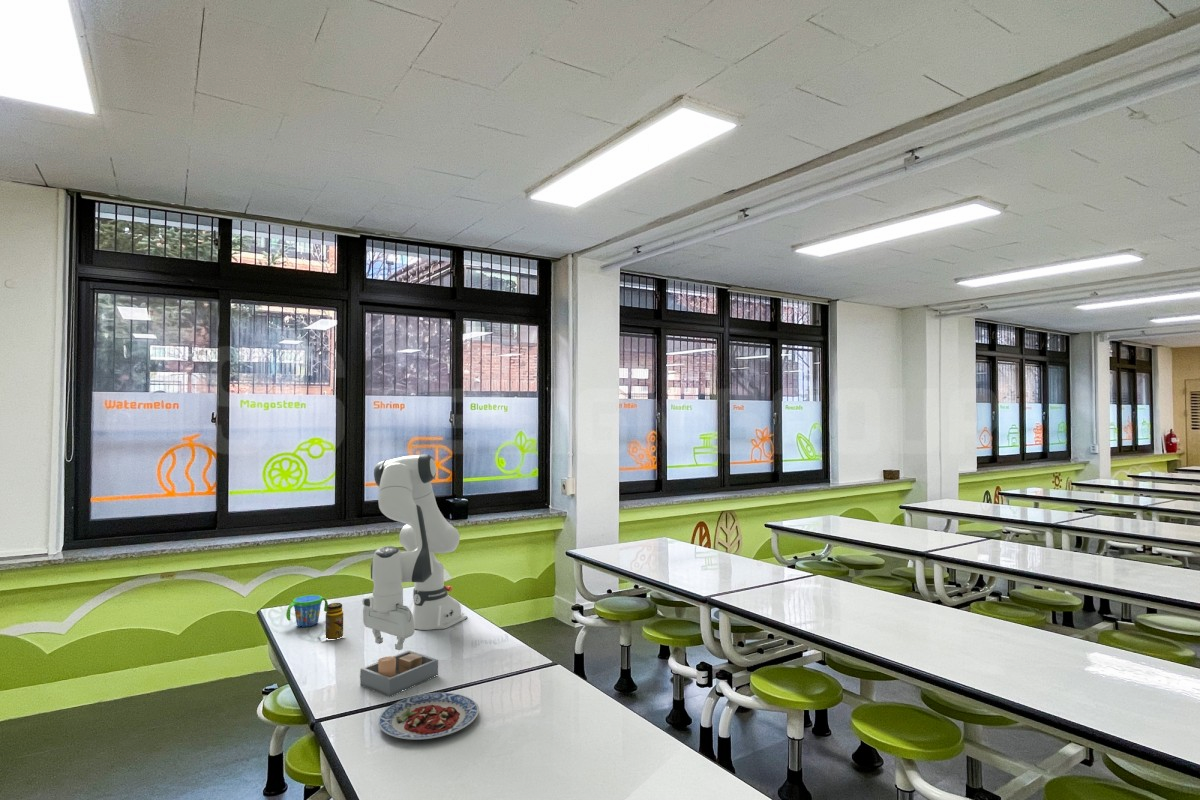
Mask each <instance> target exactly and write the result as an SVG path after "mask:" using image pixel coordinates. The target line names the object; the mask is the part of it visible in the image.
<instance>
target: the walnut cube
mask: <svg viewBox="0 0 1200 800" xmlns="http://www.w3.org/2000/svg"><path fill="white" fill-rule="evenodd" d="M420 665H422V656H419V655H416V654H413V653H411V654H408V655H406V656H403V657H401V658H399V674H400V673H403V672H405V671H408V670H410V669H413V668H415V667H418V666H420Z"/></svg>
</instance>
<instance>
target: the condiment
mask: <svg viewBox="0 0 1200 800" xmlns="http://www.w3.org/2000/svg"><path fill="white" fill-rule="evenodd" d="M343 634H344V611H343V604H342V602H332V603H329V604H328V605H327V612H325V635H326V638H328V639H337V638H340V637H342V636H343Z"/></svg>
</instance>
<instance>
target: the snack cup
mask: <svg viewBox="0 0 1200 800" xmlns="http://www.w3.org/2000/svg"><path fill="white" fill-rule="evenodd" d="M323 601H324V607H323V610H324V612H325V613H326V612H327V605H329V604H328V601H327V599H326V598H325V597H323V596H321V595H319V594H318V595H317V594H307V595H301V596H298V597H295V598H294V599H292V602H291V603H290V604H289V605H288V607H287V609H286V613H285V614H286V615H285V617H286V619H287V620H288V621H291V609H292V608H294V614H295V615H294V616H295V620H296V625H297V627H300V626H302V627H301V628H308V627H307V626H309V627H312V626H315V625H314V624H316V623H317V622H318V623H319V619H320V613H321V605H322V602H323ZM318 623H317V624H318ZM317 624H316V625H317ZM311 625H312V626H311ZM305 626H306V627H305Z"/></svg>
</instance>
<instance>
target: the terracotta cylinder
mask: <svg viewBox="0 0 1200 800" xmlns="http://www.w3.org/2000/svg"><path fill="white" fill-rule="evenodd" d="M377 662H378V673H379V674H382V675H385V676H387V677H390V678H391V677H393V676H396V658H395V657H393V656H390V655H389V656H383V657H380V658H379V659H378V661H377Z"/></svg>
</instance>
